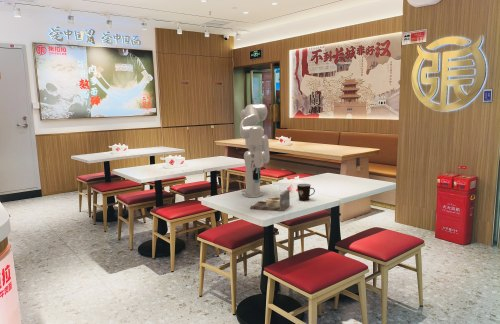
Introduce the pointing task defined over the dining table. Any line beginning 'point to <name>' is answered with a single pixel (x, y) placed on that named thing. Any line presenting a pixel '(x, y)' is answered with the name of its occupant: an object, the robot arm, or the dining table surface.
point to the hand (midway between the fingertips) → (256, 178)
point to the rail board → (283, 206)
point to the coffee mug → (304, 191)
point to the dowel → (258, 176)
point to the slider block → (273, 202)
